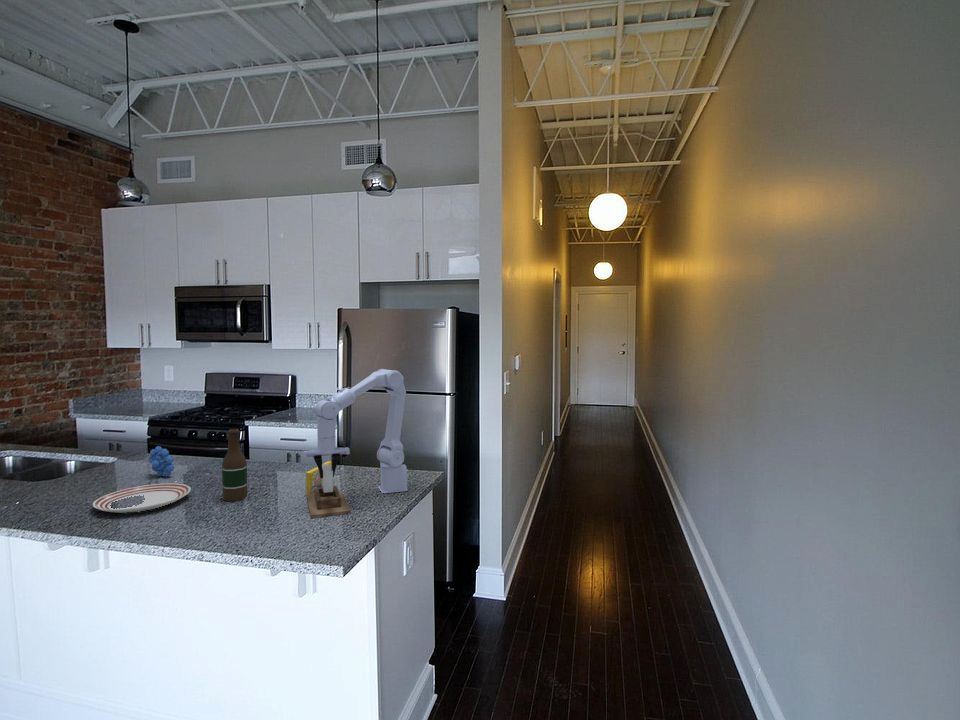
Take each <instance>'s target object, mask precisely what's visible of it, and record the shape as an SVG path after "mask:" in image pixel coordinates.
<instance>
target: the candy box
mask: <svg viewBox="0 0 960 720" xmlns="http://www.w3.org/2000/svg"><path fill="white" fill-rule="evenodd" d="M322 465H331V467H332V462H331V461H330V460H329V461H325V462H323V463H322ZM305 473H306V474H305V496H307V494H309V493H314V488H321V487H322V486H321V478H320V473H319V469H318V466H316V467H314V468H312V469H311V470H308V471H306V472H305Z"/></svg>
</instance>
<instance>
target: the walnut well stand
mask: <svg viewBox="0 0 960 720" xmlns="http://www.w3.org/2000/svg"><path fill="white" fill-rule="evenodd" d="M306 500H307V501H306V502H307V506H308V509H309V516H310V519H319V518H326V516H327V517H333V516H342V514H343V515H350V514H351V509H350V506H349V503H348V501H347V498H346V497H345V495H344V492H343V490H342V489H338V486H337V485H333V492H326V493H324V492H323V489H322V487H321V488H314V493H309V494H307V495H306ZM349 513H350V514H349ZM318 517H319V518H318Z"/></svg>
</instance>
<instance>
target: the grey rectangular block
mask: <svg viewBox="0 0 960 720" xmlns="http://www.w3.org/2000/svg"><path fill="white" fill-rule="evenodd" d="M322 473H323V478H321V486H322V489H323V492H324V493H326V492H333V486H334V477H333V470H332V467H331V465H322Z"/></svg>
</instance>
